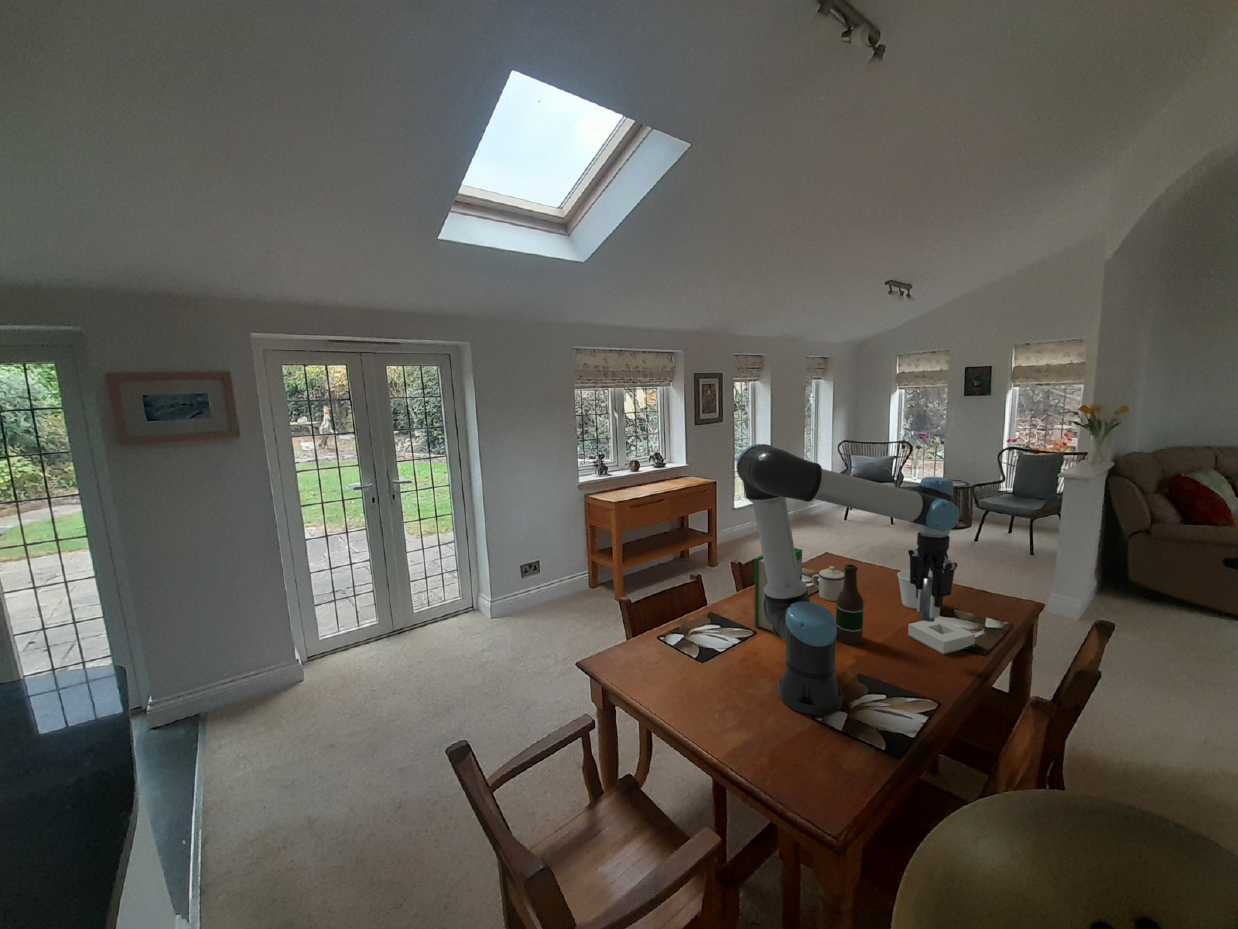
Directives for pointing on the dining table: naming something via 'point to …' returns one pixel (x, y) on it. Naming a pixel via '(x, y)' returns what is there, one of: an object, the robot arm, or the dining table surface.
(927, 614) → the pin
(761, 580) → the hardback book
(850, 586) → the beer bottle
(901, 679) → the dining table surface
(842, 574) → the teacup with lid
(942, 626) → the bore block
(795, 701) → the robot arm
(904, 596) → the cup
